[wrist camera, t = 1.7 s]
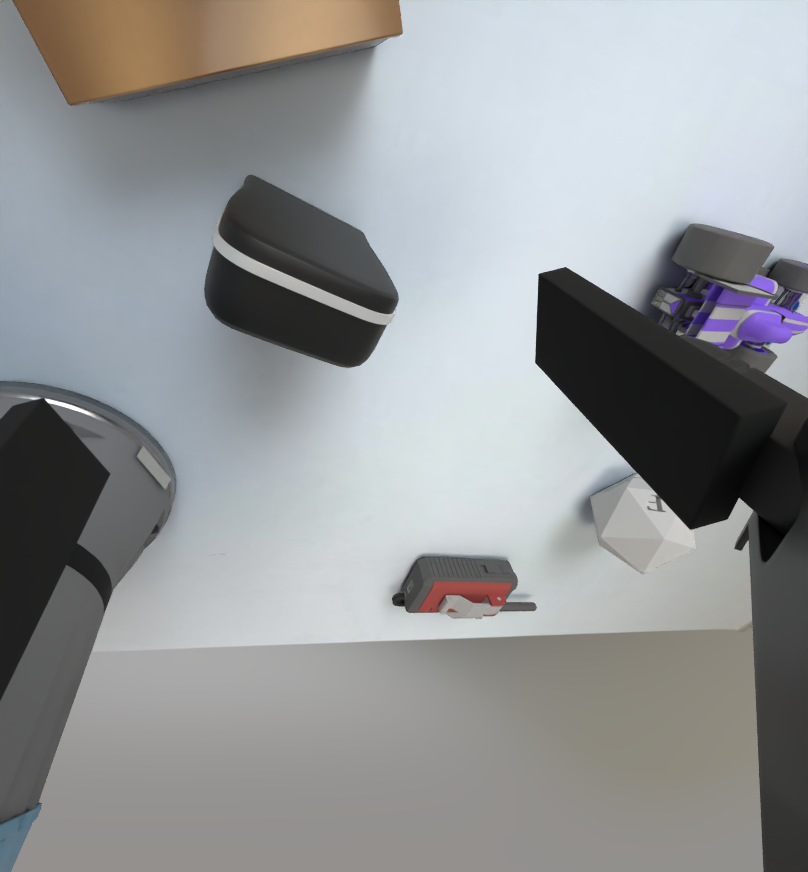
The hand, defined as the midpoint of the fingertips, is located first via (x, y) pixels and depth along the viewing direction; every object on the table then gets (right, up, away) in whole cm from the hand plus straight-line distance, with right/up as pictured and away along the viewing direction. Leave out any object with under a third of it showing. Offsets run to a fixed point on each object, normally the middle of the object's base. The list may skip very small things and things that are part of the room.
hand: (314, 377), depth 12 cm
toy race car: (+26, +9, +21) cm, 35 cm away
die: (+25, -8, +33) cm, 42 cm away
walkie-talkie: (+11, -20, +36) cm, 42 cm away
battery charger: (-3, +9, +12) cm, 16 cm away
